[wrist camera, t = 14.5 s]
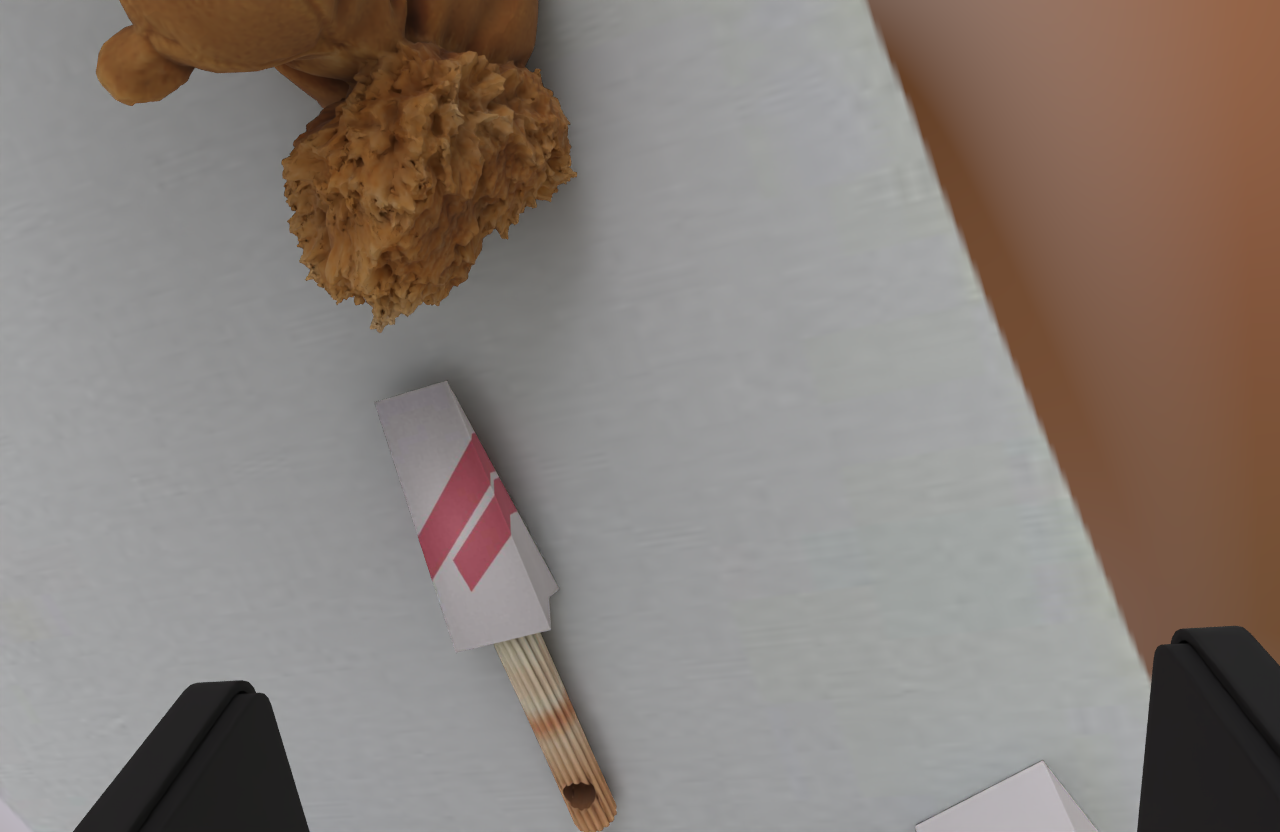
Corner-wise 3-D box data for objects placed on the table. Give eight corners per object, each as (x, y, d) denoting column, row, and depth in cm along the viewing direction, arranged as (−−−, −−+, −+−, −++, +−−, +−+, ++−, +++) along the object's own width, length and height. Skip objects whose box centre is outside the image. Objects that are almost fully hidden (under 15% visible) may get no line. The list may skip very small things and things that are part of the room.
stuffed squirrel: (461, -282, 28) (259, -536, 16) (669, 172, 32) (638, 251, 20) (184, -108, 30) (-181, -213, 18) (412, 296, 34) (241, 436, 22)
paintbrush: (452, 391, 32) (636, 834, 39) (470, 363, 35) (639, 784, 42) (346, 421, 33) (546, 851, 40) (371, 391, 35) (555, 801, 42)
